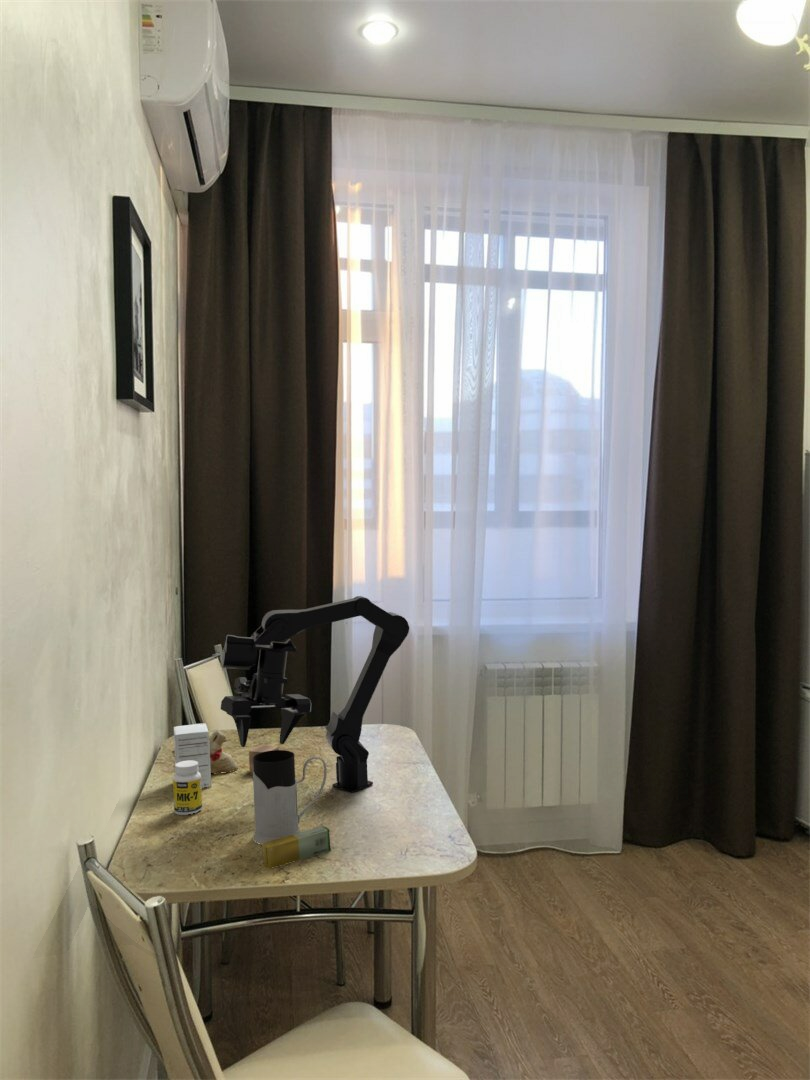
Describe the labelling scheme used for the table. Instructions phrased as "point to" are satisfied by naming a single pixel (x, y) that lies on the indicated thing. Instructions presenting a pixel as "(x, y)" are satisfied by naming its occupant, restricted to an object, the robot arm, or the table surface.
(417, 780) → the table surface
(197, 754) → the supplement box
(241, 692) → the robot arm
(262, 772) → the glass holder
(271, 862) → the medication box
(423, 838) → the table surface
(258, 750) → the tan cube
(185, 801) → the supplement bottle
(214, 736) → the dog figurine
